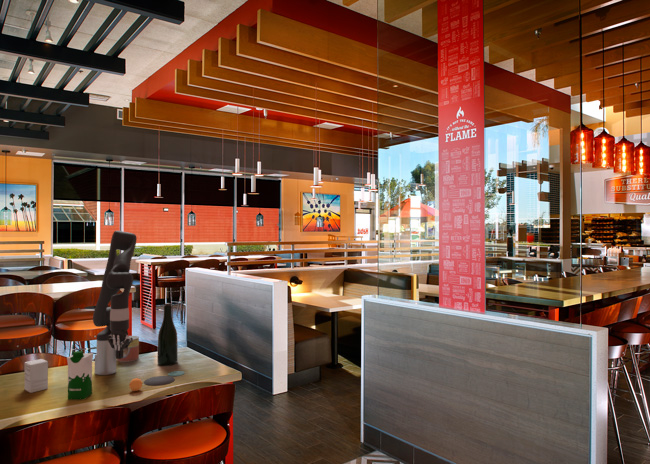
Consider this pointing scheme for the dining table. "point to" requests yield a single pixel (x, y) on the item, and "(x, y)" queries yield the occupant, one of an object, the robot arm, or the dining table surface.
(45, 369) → the supplement box
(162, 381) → the disc
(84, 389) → the milk carton
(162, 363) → the dark green wine bottle
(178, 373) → the disc
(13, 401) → the dining table surface
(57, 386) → the dining table surface
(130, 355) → the canned food
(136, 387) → the ball
